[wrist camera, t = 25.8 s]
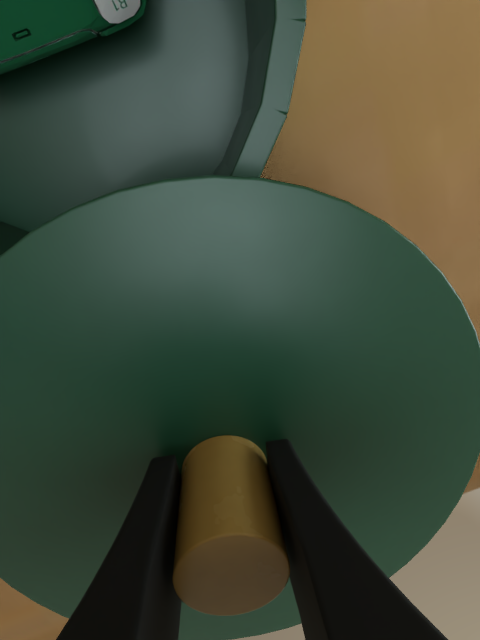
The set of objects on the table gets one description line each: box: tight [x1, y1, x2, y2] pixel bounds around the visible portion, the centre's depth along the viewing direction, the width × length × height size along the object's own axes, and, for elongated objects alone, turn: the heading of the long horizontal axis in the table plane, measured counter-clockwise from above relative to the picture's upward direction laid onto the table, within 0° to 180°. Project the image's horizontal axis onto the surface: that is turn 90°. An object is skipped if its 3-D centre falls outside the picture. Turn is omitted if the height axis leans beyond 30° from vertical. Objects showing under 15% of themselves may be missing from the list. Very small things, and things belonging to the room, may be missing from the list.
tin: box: [0, 0, 306, 255], centre depth 10 cm, size 16×16×6 cm
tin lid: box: [0, 175, 480, 640], centre depth 10 cm, size 17×17×4 cm
